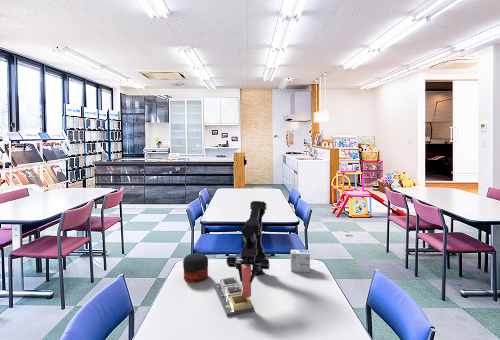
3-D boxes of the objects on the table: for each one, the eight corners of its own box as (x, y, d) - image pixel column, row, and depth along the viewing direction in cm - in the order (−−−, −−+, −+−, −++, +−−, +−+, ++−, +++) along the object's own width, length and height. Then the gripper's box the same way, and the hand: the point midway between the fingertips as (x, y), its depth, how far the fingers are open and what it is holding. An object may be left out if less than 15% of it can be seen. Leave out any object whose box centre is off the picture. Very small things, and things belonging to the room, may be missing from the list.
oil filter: (192, 270, 173) (178, 280, 161) (191, 249, 172) (178, 257, 160) (212, 274, 168) (200, 284, 156) (212, 252, 167) (199, 261, 155)
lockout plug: (242, 292, 136) (242, 264, 135) (251, 293, 136) (251, 264, 134) (241, 297, 132) (241, 268, 131) (250, 298, 132) (250, 268, 130)
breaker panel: (214, 286, 154) (213, 279, 154) (237, 283, 158) (237, 275, 157) (227, 316, 129) (226, 307, 128) (254, 311, 132) (254, 302, 132)
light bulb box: (309, 267, 177) (309, 249, 176) (310, 272, 170) (310, 253, 169) (290, 267, 178) (290, 248, 177) (290, 272, 171) (290, 253, 170)
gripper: (227, 239, 137) (221, 273, 127) (269, 241, 134) (266, 276, 124) (231, 249, 146) (225, 283, 136) (270, 252, 143) (268, 286, 133)
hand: (245, 282), depth 132 cm, fingers closed on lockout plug, 4 cm apart
